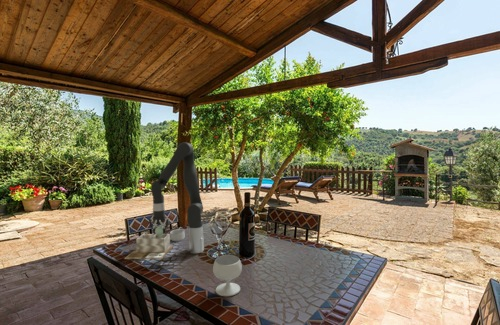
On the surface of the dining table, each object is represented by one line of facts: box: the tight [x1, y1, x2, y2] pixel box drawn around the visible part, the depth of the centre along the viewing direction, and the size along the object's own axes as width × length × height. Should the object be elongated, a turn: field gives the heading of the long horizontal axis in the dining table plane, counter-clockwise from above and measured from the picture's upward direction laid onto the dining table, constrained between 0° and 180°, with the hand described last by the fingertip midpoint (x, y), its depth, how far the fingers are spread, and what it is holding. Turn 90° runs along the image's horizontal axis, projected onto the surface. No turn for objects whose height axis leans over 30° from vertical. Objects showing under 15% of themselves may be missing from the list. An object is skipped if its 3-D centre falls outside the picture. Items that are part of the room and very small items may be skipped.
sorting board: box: [123, 233, 176, 260], centre depth 167 cm, size 25×23×10 cm
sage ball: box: [155, 225, 163, 235], centre depth 172 cm, size 6×6×6 cm
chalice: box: [212, 254, 243, 297], centre depth 121 cm, size 14×14×15 cm
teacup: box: [169, 228, 185, 242], centre depth 194 cm, size 14×11×8 cm
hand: (159, 233), depth 172 cm, fingers closed on sage ball, 5 cm apart
